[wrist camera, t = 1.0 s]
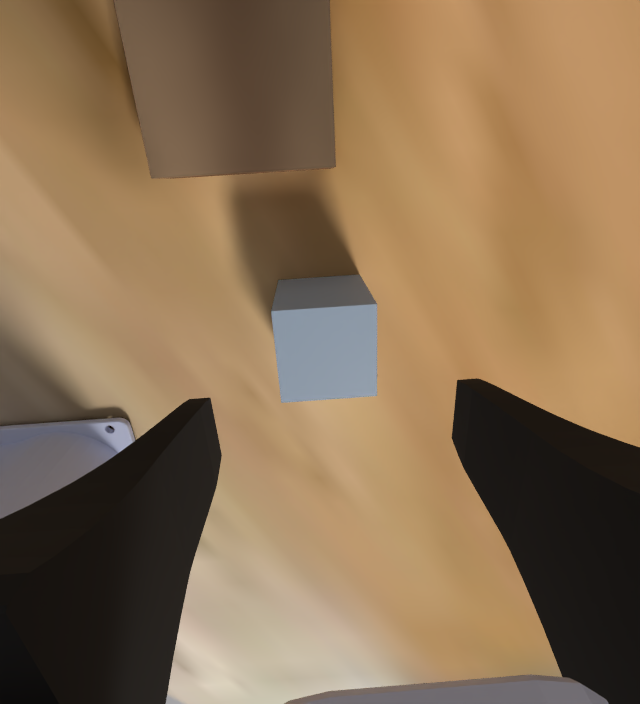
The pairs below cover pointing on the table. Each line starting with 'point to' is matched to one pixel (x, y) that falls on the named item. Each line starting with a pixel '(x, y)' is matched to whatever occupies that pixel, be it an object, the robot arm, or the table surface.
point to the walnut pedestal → (231, 84)
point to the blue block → (325, 338)
